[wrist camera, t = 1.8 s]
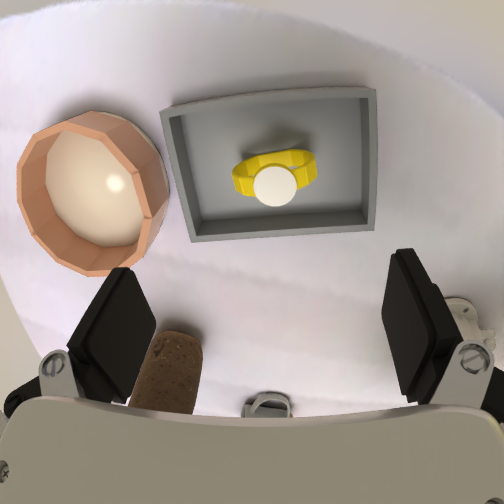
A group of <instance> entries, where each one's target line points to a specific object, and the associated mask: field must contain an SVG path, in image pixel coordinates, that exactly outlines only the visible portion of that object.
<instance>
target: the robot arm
mask: <svg viewBox="0 0 504 504" xmlns="http://www.w3.org/2000/svg"><path fill="white" fill-rule="evenodd" d="M382 320H383V324H384V327H385V331H386V334H387V338H388V342H389V345H390V349H391V353H392V357H393V361H394V365H395V369H396V373H397V377H398V381H399V386H400V390H401V394H402V395H403V396H404V395H406V397H407V401H408V403H411V402H416V401H417V402H418V405H416V406H409V407H400V408H393V409H386V410H379V411H371V412H362V413H351V414H341V415H330V416H315V417H293V418H238V417H216V416H201V415H189V414H179V413H170V412H161V411H153V410H146V409H139V408H133V407H127V406H121V405H116V404H111V402H112V401H113V402H114V403H120V404H126V401H127V398H128V397H130V396H131V394H132V392H133V389H134V386H135V383H136V380H137V377H138V375H139V372H140V369H141V366H142V364H143V361H144V358H145V355H146V353H147V350H148V347H149V345H150V342H151V339H152V337H153V334H154V332H155V329H156V320H155V317H154V315H153V313H152V311H151V309H150V307H149V305H148V302H147V300H146V298H145V296H144V294H143V291H142V289H141V287H140V285H139V282H138V280H137V278H136V275H135V273H134V272H133V271H132V270H130V268H128V267H115V268H113V269H112V270H111V272H110V274H109V275H108V277H107V278H106V280H105V281H104V283H103V284H102V286H101V288H100V289H99V291H98V292H97V294H96V296H95V297H94V299H93V300H92V302H91V304H90V305H89V307H88V309H87V310H86V312H85V314H84V315H83V317H82V319H81V321H80V322H79V324H78V326H77V327H76V329H75V331H74V333H73V335H72V336H71V338H70V340H69V342H68V343H67V345H66V346H67V347H68V348H69V351H68V353H67V352H65V351H64V350H55V351H52V352H50V353H49V354H47V355H46V356H45V357H44V358H43V360H42V361H41V363H40V366H39V376H37V377H36V378H34V379H32V380H31V381H29V382H27V383H26V384H24V385H22V386H21V387H19V388H17V389H16V390H14V391H13V392H11V393H10V394H9V395H8V396H7V398H6V400H5V403H4V412H3V411H2V410H0V504H504V371H502V370H500V369H498V368H496V367H494V357H493V354H492V352H491V351H492V350H494V348H495V339H494V336H495V330H494V328H489V329H485V330H483V331H482V330H480V329H479V327H478V313H477V311H476V309H475V307H474V306H473V305H472V304H471V303H470V302H469V301H467V300H464V299H461V298H450V299H444V297H443V295H442V293H441V291H440V289H439V288H438V286H437V285H436V284H434V283H433V284H432V282H431V280H430V278H429V276H428V274H427V272H426V271H425V269H424V267H423V265H422V263H421V261H420V260H419V258H418V256H417V254H416V253H415V251H414V249H413V248H406V249H397V250H396V253H395V254H392V255H391V259H390V266H389V272H388V278H387V284H386V289H385V295H384V300H383V305H382Z"/></svg>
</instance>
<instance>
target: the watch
mask: <svg viewBox="0 0 504 504" xmlns="http://www.w3.org/2000/svg"><path fill="white" fill-rule="evenodd" d="M290 166H297V167H296V168H294V169H290V168H288V167H290ZM253 175H254V176H253ZM316 177H317V167H316V161H315V155H314V154H313V153H311V152H309V151H306V150H301V149H288V150H284V151H278V152H272V153H267V154H261V155H255V156H253V157H251V158H248V159H246V160H244V161H242V162H240V163H239V164H237V165H236V166H235V167H234V168H233V170H232V178H233V181H234V185H235V189H236V191H238V192H239V193H241V194H243V195H245V196H252V197H257V198H258V200H259V201H260V202H262V203H264V204H266V205H269V206H282V205H285V204H286V203H288V202H289V201H291V200H292V198H293V197H294V196H295V193H296V190H298V189H300V188H303V187H305V186H306V185H309V184H310V183H311V182H312V181H313V180H314V179H315V178H316Z"/></svg>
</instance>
